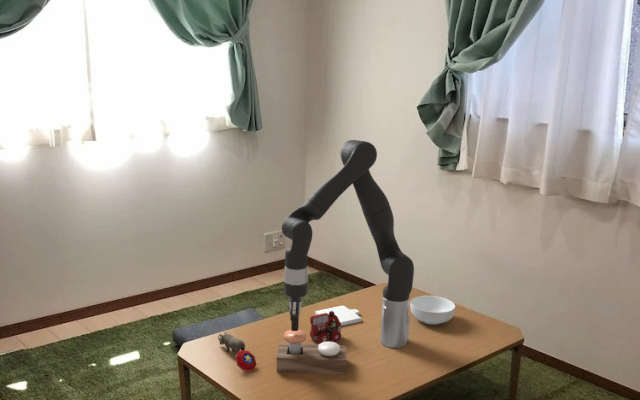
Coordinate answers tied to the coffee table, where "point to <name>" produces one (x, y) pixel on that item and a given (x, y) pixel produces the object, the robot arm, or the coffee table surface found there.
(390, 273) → the robot arm
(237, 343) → the rhino figurine
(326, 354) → the white mushroom knob
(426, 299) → the cereal bowl
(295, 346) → the peach dome
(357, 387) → the coffee table surface
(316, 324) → the toy fire truck
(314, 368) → the plunger block
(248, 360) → the button
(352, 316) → the mounting plate
